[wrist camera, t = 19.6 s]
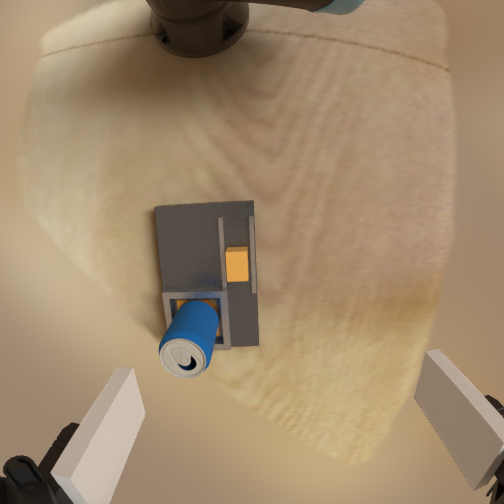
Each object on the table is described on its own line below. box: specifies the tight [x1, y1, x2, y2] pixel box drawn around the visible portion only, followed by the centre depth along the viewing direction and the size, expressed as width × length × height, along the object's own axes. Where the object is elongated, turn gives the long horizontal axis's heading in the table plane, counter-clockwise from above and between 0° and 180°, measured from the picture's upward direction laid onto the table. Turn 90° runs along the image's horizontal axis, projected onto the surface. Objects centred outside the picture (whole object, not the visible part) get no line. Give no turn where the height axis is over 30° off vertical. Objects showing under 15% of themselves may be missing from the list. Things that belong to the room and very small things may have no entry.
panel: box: [155, 200, 259, 350], centre depth 46 cm, size 22×14×4 cm, turn 2°
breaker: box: [225, 247, 249, 282], centre depth 43 cm, size 4×3×3 cm
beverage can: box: [159, 300, 219, 379], centre depth 41 cm, size 6×6×12 cm
